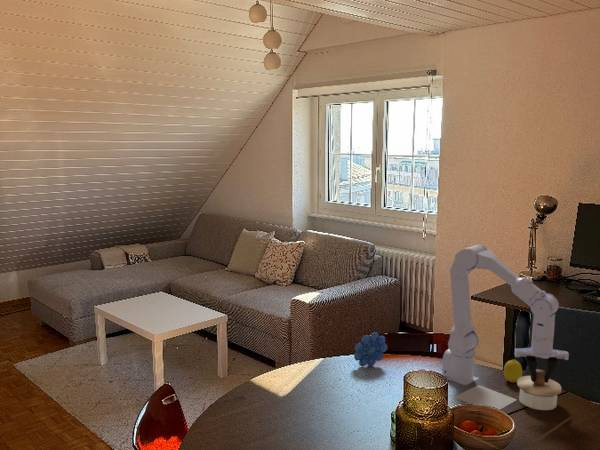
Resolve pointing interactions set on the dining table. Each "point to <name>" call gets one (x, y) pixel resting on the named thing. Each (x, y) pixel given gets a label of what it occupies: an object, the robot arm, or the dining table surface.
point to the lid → (539, 385)
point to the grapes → (370, 349)
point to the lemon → (512, 371)
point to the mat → (485, 397)
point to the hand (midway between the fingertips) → (539, 380)
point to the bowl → (537, 401)
